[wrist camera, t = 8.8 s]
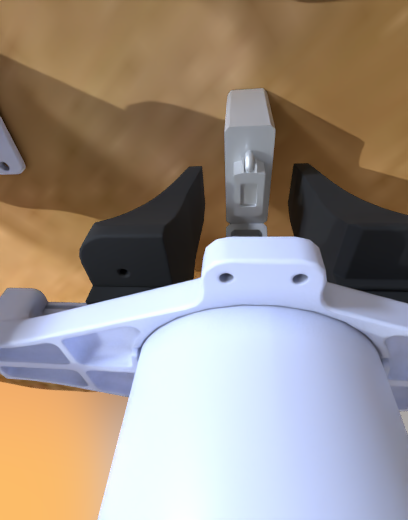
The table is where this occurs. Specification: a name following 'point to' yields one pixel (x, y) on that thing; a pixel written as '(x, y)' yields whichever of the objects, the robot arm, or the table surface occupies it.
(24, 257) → the table surface
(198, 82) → the table surface
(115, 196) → the table surface
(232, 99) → the lighter
